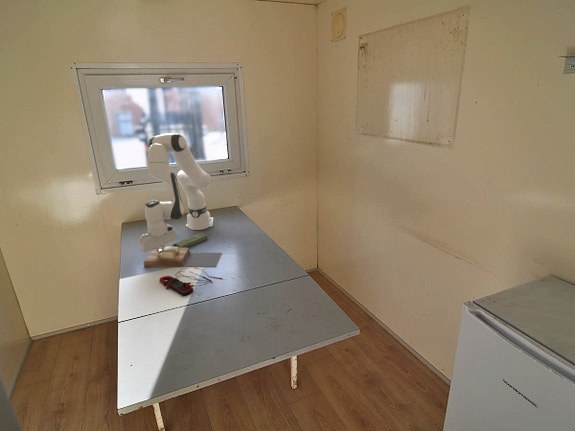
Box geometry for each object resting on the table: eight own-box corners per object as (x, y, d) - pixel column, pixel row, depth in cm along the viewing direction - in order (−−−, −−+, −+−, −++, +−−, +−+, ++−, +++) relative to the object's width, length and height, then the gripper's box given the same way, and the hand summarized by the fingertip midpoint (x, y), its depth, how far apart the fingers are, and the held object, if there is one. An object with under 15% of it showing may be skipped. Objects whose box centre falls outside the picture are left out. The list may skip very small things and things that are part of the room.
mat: (190, 253, 199) (190, 252, 199) (221, 253, 198) (221, 252, 198) (182, 267, 184) (182, 266, 184) (215, 267, 183) (215, 266, 183)
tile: (167, 250, 195) (166, 246, 194) (179, 250, 194) (178, 246, 193) (159, 258, 186) (158, 254, 185) (172, 258, 185) (171, 254, 184)
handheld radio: (201, 236, 220) (167, 250, 202) (200, 231, 219) (166, 245, 201) (207, 239, 216) (173, 253, 198) (207, 234, 215) (173, 248, 197)
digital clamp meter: (184, 294, 153) (154, 275, 168) (185, 302, 155) (155, 283, 170) (224, 272, 170) (193, 257, 185) (225, 280, 172) (194, 265, 187)
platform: (155, 253, 199) (154, 247, 198) (189, 253, 199) (189, 247, 197) (144, 267, 184) (143, 261, 183) (181, 267, 184) (180, 261, 183)
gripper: (142, 238, 176) (146, 262, 181) (176, 225, 191) (179, 247, 196) (135, 235, 179) (140, 258, 184) (169, 223, 194) (172, 245, 199)
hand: (160, 252), depth 190 cm, fingers closed
